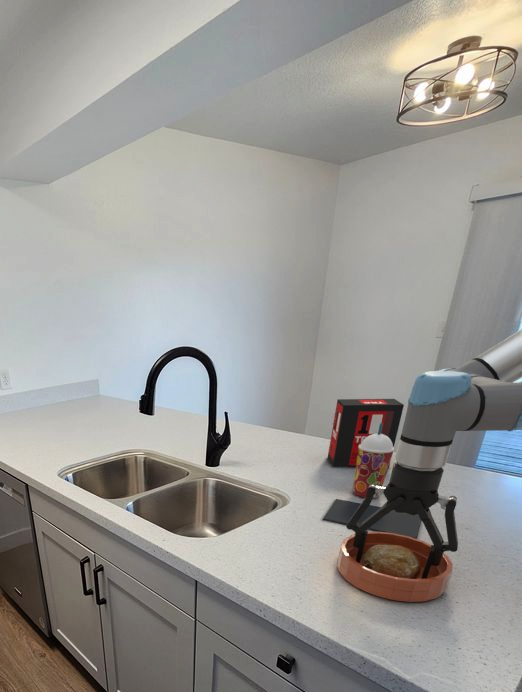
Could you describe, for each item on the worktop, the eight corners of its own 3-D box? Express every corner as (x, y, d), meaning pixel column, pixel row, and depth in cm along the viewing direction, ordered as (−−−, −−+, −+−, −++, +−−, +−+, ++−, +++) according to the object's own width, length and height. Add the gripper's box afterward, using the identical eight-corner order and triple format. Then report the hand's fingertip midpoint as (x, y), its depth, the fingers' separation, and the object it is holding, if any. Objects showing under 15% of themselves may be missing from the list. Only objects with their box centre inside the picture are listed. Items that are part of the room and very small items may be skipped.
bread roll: (352, 579, 92) (346, 554, 87) (389, 551, 93) (385, 524, 88) (395, 605, 83) (390, 579, 79) (435, 574, 84) (433, 546, 80)
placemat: (422, 515, 109) (422, 514, 109) (416, 539, 99) (416, 537, 99) (335, 500, 120) (336, 498, 120) (322, 519, 110) (323, 518, 110)
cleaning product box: (332, 467, 142) (343, 405, 133) (327, 458, 150) (337, 399, 141) (388, 468, 138) (404, 404, 129) (380, 459, 146) (394, 398, 137)
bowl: (447, 566, 89) (454, 545, 86) (441, 616, 76) (449, 593, 73) (347, 543, 99) (351, 524, 97) (327, 583, 86) (331, 562, 84)
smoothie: (376, 488, 125) (392, 419, 116) (387, 500, 118) (405, 427, 109) (345, 488, 126) (359, 419, 117) (354, 499, 119) (369, 427, 110)
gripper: (502, 468, 73) (462, 577, 83) (351, 449, 86) (332, 545, 96) (504, 482, 68) (461, 597, 78) (342, 460, 80) (323, 561, 90)
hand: (389, 569), depth 87 cm, fingers open, 11 cm apart
